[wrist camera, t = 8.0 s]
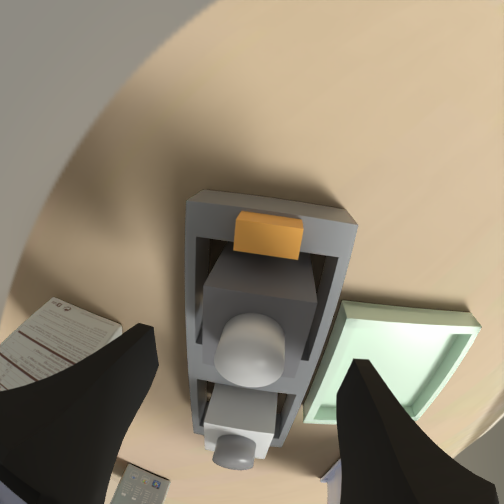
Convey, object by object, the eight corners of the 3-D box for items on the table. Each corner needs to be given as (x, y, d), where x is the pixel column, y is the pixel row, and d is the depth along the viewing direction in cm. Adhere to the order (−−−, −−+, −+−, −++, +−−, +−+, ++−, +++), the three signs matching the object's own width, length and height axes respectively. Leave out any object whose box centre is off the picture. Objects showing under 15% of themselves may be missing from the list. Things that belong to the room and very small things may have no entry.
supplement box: (133, 384, 21) (73, 501, 9) (68, 355, 21) (0, 447, 9) (125, 322, 18) (27, 466, 6) (51, 292, 18) (-49, 391, 6)
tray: (412, 405, 18) (417, 420, 17) (303, 405, 19) (303, 422, 17) (470, 312, 14) (481, 326, 13) (342, 300, 15) (347, 318, 13)
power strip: (283, 423, 20) (280, 459, 17) (201, 410, 21) (190, 444, 17) (346, 209, 13) (365, 235, 9) (203, 189, 13) (175, 207, 10)
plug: (294, 312, 16) (293, 405, 10) (225, 302, 16) (193, 388, 10) (308, 248, 14) (321, 329, 8) (230, 236, 14) (190, 309, 8)
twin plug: (270, 405, 19) (262, 477, 13) (219, 396, 20) (200, 466, 14) (279, 373, 18) (272, 455, 12) (220, 363, 18) (197, 443, 12)
